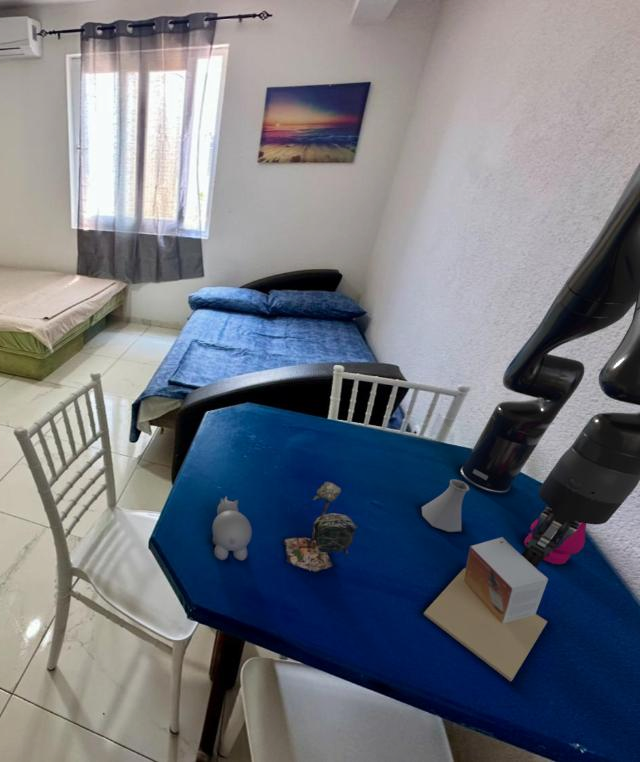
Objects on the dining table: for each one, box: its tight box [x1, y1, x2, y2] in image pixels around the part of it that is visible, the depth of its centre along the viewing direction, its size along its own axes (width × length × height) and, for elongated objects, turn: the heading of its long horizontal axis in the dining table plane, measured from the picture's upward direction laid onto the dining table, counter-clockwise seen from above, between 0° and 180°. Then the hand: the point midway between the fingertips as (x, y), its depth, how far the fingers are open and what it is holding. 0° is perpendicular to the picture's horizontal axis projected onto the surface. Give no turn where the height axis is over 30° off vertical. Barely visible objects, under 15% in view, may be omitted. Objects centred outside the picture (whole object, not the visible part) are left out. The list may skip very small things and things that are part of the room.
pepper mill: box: [523, 519, 588, 565], centre depth 76 cm, size 7×7×20 cm
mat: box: [423, 567, 548, 682], centre depth 68 cm, size 16×12×1 cm
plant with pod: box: [283, 481, 358, 573], centre depth 73 cm, size 8×11×20 cm
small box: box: [464, 536, 549, 623], centre depth 67 cm, size 8×6×10 cm
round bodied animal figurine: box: [211, 495, 253, 561], centre depth 79 cm, size 7×12×8 cm, turn 174°
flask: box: [421, 478, 470, 533], centre depth 85 cm, size 7×7×10 cm
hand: (527, 562), depth 66 cm, fingers closed
